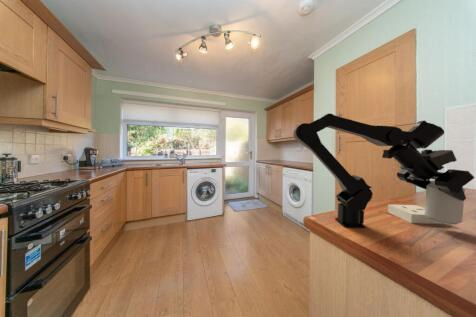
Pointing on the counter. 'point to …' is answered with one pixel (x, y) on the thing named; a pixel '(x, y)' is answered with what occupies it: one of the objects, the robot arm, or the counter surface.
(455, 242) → the counter surface
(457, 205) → the can
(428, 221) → the socket block
